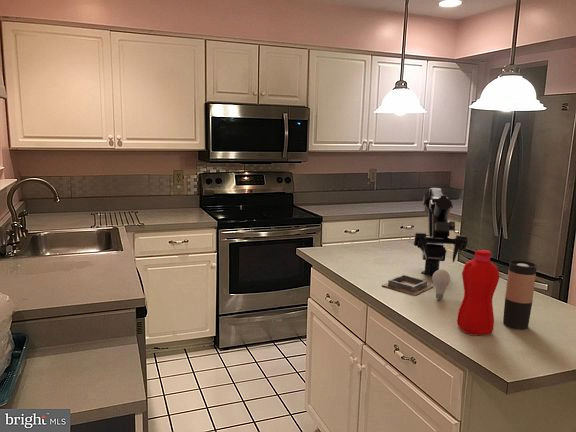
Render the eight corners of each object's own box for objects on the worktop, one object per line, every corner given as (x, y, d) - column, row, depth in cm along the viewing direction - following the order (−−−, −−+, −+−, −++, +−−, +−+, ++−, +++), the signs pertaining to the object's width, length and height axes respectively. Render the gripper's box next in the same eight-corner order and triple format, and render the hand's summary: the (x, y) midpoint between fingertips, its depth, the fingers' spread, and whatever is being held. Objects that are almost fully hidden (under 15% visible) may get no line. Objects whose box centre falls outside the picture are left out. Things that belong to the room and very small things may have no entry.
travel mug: (497, 320, 153) (504, 260, 150) (520, 320, 154) (527, 260, 150) (510, 330, 146) (518, 267, 142) (534, 330, 147) (542, 267, 143)
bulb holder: (400, 278, 193) (401, 272, 193) (433, 287, 184) (433, 281, 183) (381, 286, 183) (382, 279, 183) (414, 295, 174) (415, 289, 173)
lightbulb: (449, 303, 167) (452, 273, 165) (431, 301, 168) (433, 271, 166) (447, 297, 173) (450, 268, 171) (429, 296, 174) (432, 266, 172)
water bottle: (477, 321, 152) (486, 244, 148) (497, 336, 142) (506, 254, 137) (450, 322, 151) (457, 245, 146) (467, 337, 140) (476, 254, 136)
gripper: (416, 211, 179) (416, 246, 170) (469, 214, 175) (471, 251, 167) (414, 227, 188) (413, 262, 179) (464, 231, 184) (465, 266, 176)
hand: (440, 260), depth 175 cm, fingers open, 9 cm apart
